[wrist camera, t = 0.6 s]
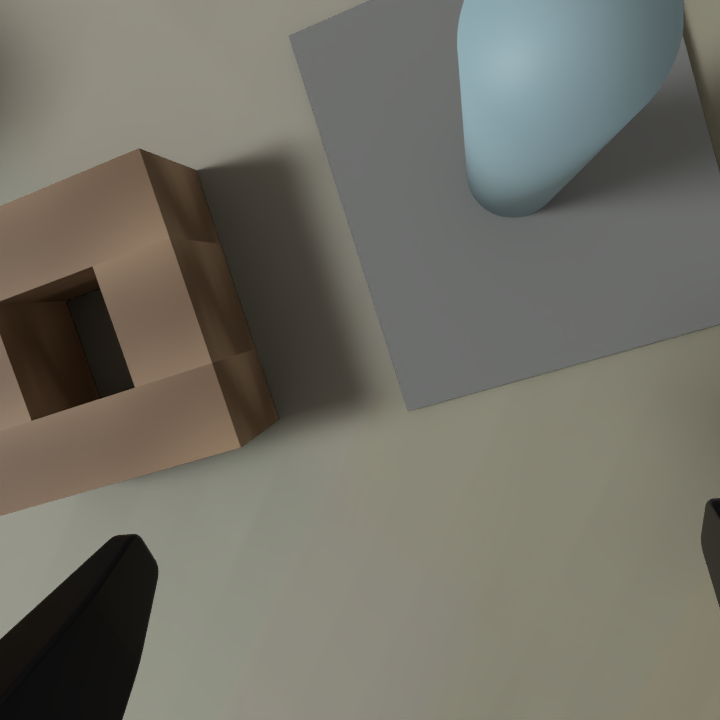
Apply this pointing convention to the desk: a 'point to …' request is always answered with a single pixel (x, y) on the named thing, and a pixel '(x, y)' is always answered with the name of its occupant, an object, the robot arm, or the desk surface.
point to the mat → (502, 234)
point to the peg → (554, 88)
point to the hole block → (119, 333)
